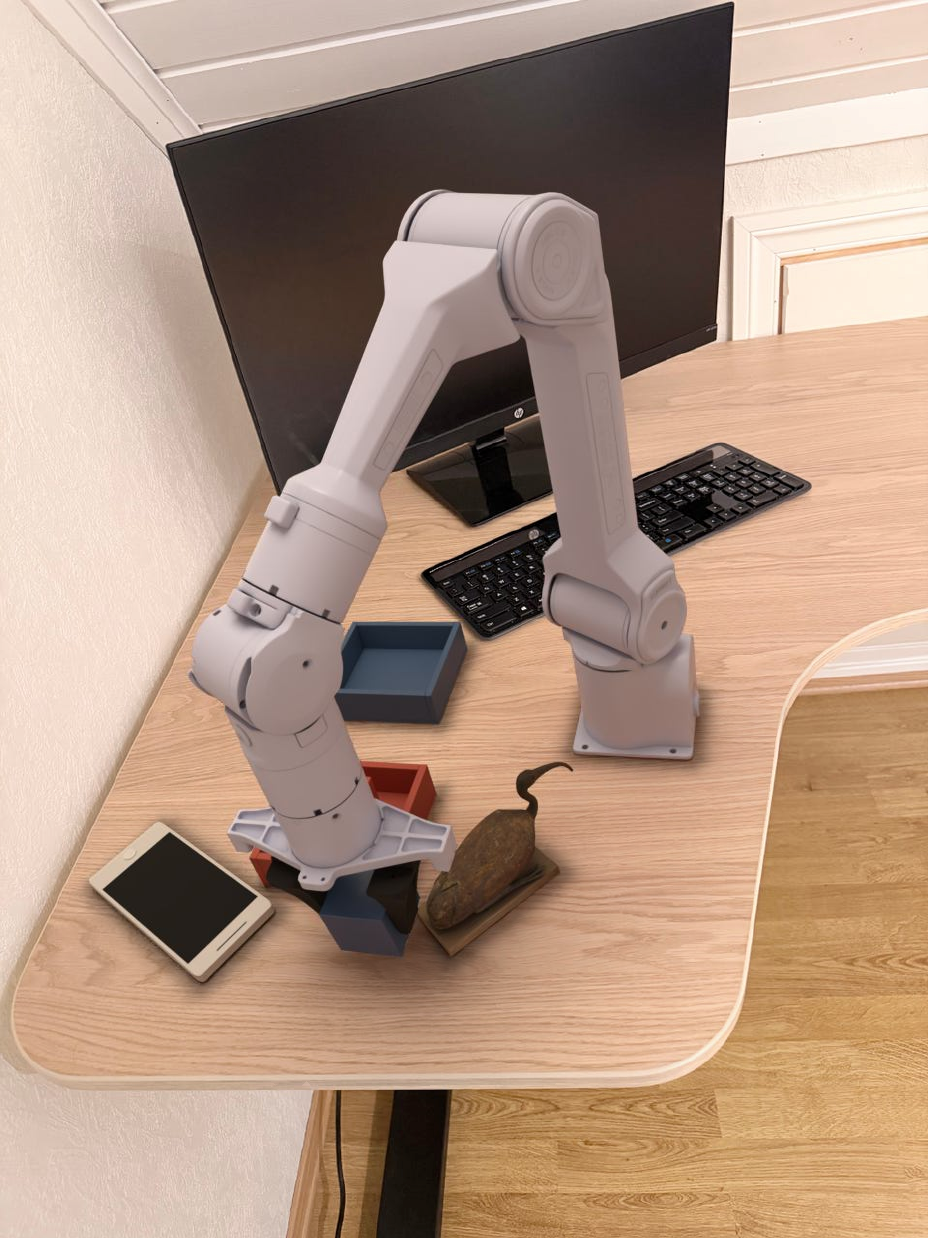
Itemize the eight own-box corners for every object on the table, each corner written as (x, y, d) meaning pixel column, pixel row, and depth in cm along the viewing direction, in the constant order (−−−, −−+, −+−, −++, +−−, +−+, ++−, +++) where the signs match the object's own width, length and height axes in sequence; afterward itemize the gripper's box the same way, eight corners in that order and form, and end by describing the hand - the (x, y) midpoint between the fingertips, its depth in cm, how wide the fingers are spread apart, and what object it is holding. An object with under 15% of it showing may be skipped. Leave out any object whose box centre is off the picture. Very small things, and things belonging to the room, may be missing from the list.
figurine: (563, 807, 70) (546, 726, 65) (603, 840, 67) (589, 758, 62) (415, 917, 65) (385, 839, 60) (451, 958, 62) (423, 880, 57)
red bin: (436, 793, 74) (427, 764, 72) (398, 901, 66) (387, 871, 64) (313, 785, 78) (300, 757, 75) (263, 886, 70) (248, 857, 68)
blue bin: (467, 649, 88) (460, 621, 86) (439, 724, 80) (430, 695, 78) (362, 648, 92) (352, 621, 89) (325, 720, 84) (314, 692, 82)
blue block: (420, 897, 63) (402, 859, 60) (402, 958, 60) (382, 921, 57) (361, 892, 64) (341, 855, 62) (340, 951, 61) (318, 915, 58)
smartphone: (162, 826, 77) (158, 818, 77) (277, 910, 68) (273, 902, 67) (91, 887, 73) (85, 880, 73) (202, 985, 64) (197, 977, 63)
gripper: (175, 826, 52) (254, 957, 61) (409, 846, 48) (461, 986, 56) (229, 737, 58) (295, 869, 66) (445, 748, 53) (487, 889, 61)
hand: (374, 917), depth 61 cm, fingers closed on blue block, 4 cm apart
